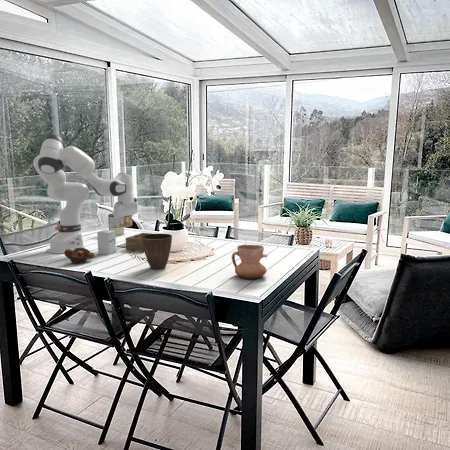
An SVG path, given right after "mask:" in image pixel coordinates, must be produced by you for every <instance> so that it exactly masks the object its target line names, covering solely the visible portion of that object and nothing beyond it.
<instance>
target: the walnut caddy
mask: <svg viewBox="0 0 450 450" xmlns="http://www.w3.org/2000/svg"><path fill="white" fill-rule="evenodd" d="M148 234H153V233H152V232H151V233H150V232H141V233H137V234H134V235H131V236H128V237H127V236H126V237H125V243H126V248H125V250H126V251H134V252H135V250H138V251H137V252H144V248H143V243H142V236H144V235H148Z"/></svg>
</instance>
